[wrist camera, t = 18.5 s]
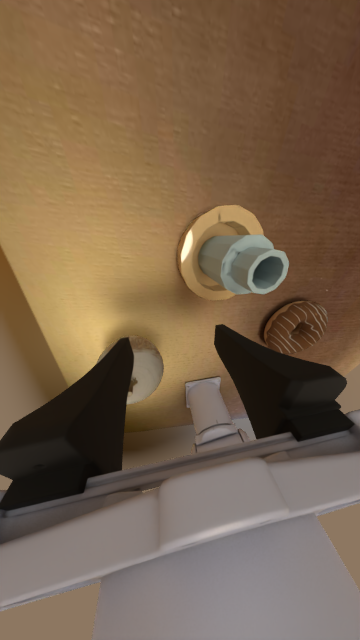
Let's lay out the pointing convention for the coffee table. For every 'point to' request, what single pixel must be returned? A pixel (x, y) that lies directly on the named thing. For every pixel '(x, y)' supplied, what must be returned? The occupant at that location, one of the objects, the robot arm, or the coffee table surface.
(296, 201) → the coffee table surface
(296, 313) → the donut
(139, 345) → the decorative object
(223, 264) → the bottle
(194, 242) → the holder
